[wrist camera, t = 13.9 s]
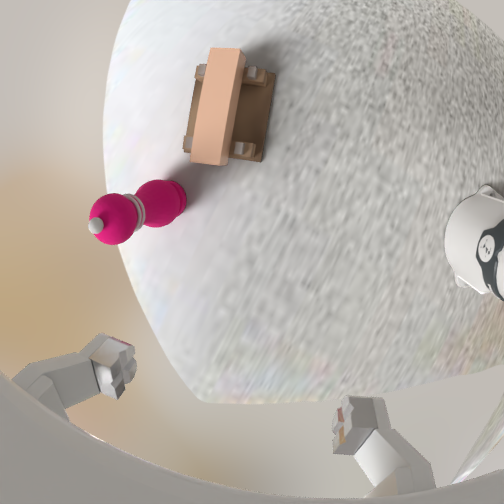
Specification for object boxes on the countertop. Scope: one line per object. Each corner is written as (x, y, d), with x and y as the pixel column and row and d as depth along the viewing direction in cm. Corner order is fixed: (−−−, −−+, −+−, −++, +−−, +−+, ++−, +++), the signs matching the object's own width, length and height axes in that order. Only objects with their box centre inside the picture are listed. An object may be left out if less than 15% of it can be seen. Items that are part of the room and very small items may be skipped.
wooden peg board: (275, 75, 36) (272, 63, 31) (261, 162, 41) (255, 162, 35) (200, 70, 37) (187, 59, 32) (186, 152, 42) (171, 151, 37)
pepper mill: (159, 171, 44) (75, 183, 25) (196, 188, 43) (124, 210, 25) (145, 209, 46) (64, 241, 27) (180, 227, 46) (109, 272, 27)
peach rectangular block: (246, 58, 32) (240, 48, 29) (227, 165, 38) (219, 165, 34) (218, 57, 33) (210, 47, 29) (200, 161, 38) (189, 161, 34)
